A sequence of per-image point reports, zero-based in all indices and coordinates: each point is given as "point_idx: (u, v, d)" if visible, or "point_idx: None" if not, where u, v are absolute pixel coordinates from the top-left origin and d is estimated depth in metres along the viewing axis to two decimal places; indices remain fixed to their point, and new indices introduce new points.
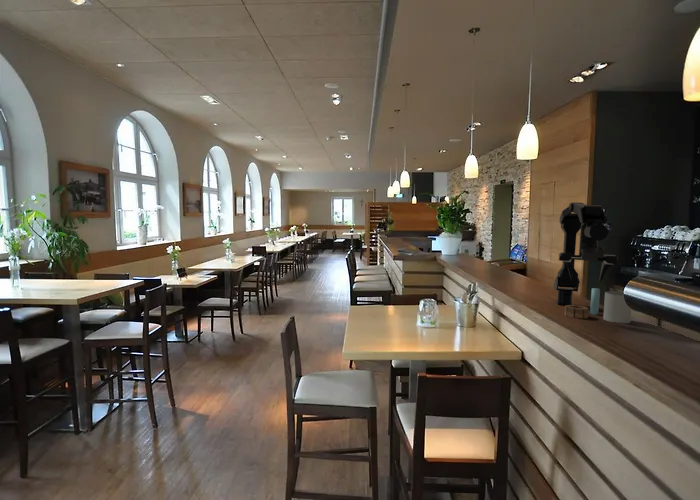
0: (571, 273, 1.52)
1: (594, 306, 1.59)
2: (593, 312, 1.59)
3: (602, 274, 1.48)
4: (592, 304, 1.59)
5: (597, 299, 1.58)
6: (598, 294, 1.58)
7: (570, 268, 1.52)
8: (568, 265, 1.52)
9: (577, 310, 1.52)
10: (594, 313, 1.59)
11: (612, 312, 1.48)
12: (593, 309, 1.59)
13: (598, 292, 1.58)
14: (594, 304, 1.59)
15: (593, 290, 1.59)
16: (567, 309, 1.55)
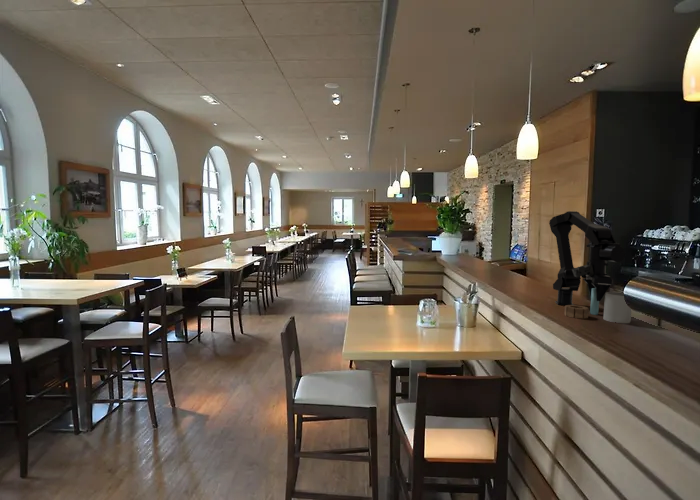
0: (589, 290, 1.64)
1: (594, 306, 1.59)
2: (593, 312, 1.59)
3: (596, 293, 1.55)
4: (592, 304, 1.59)
5: None
6: None
7: (588, 285, 1.65)
8: (586, 282, 1.66)
9: (577, 310, 1.52)
10: (594, 313, 1.59)
11: (612, 312, 1.48)
12: (593, 309, 1.59)
13: None
14: (594, 304, 1.59)
15: (593, 290, 1.59)
16: (567, 309, 1.55)
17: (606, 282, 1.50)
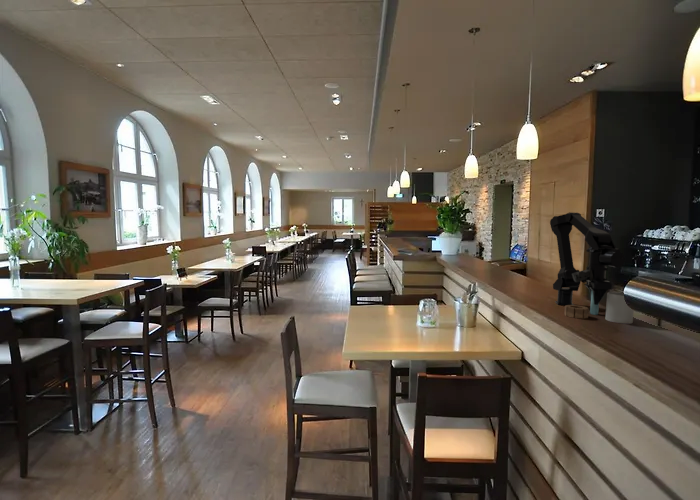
0: None
1: (594, 306, 1.59)
2: (593, 312, 1.59)
3: (593, 296, 1.58)
4: (592, 304, 1.59)
5: None
6: None
7: None
8: (588, 288, 1.63)
9: (577, 310, 1.52)
10: (594, 313, 1.59)
11: (613, 312, 1.48)
12: (593, 309, 1.59)
13: None
14: (594, 304, 1.59)
15: None
16: (567, 309, 1.55)
17: (606, 287, 1.50)
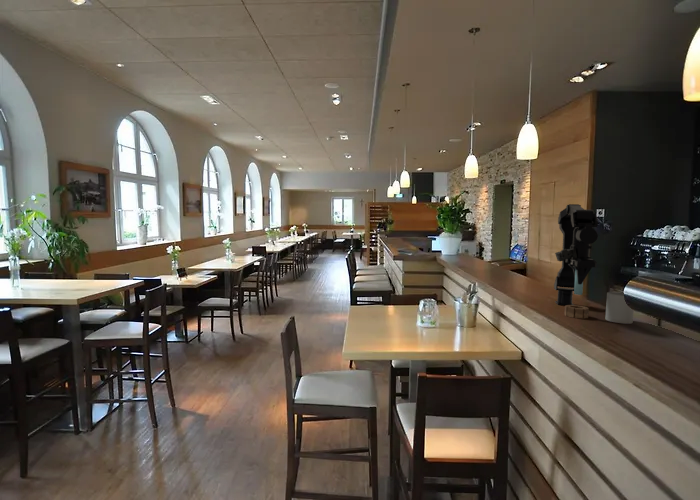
0: None
1: (578, 286, 1.54)
2: (577, 292, 1.54)
3: (577, 276, 1.53)
4: (576, 284, 1.54)
5: None
6: None
7: (573, 271, 1.57)
8: (572, 267, 1.58)
9: (577, 310, 1.52)
10: (578, 293, 1.54)
11: (613, 312, 1.48)
12: (576, 289, 1.54)
13: None
14: (578, 284, 1.54)
15: None
16: (567, 309, 1.55)
17: (589, 265, 1.45)
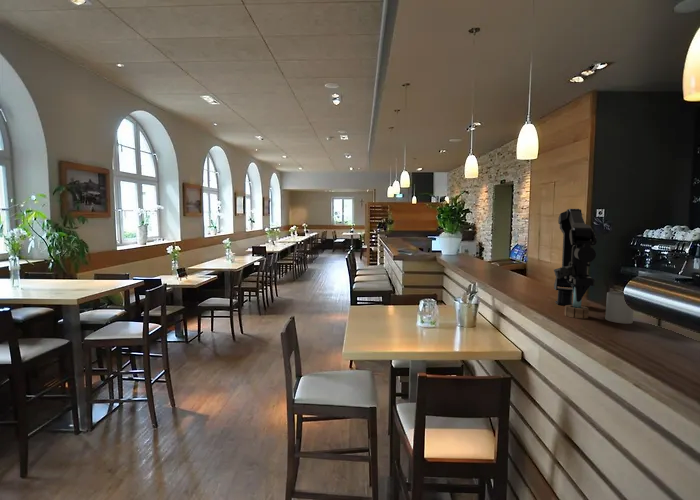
0: None
1: (576, 303, 1.54)
2: None
3: None
4: (574, 301, 1.55)
5: None
6: None
7: (572, 287, 1.58)
8: (570, 284, 1.58)
9: (577, 310, 1.52)
10: None
11: (613, 312, 1.48)
12: (575, 306, 1.55)
13: None
14: (576, 301, 1.54)
15: None
16: (567, 309, 1.55)
17: (587, 283, 1.46)
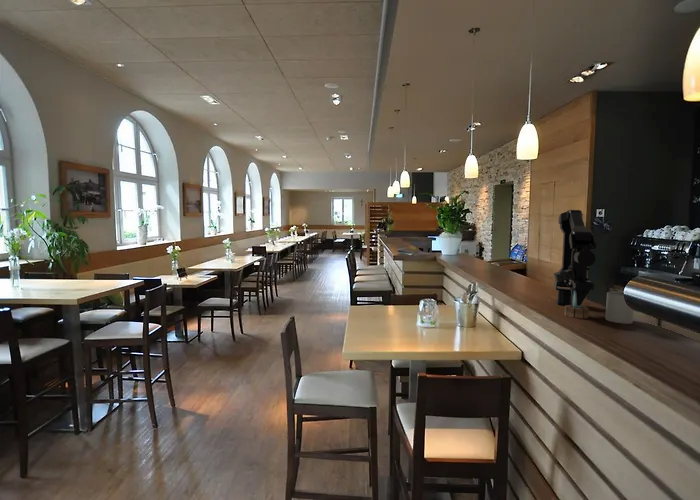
0: None
1: None
2: None
3: (576, 297, 1.53)
4: (574, 306, 1.55)
5: None
6: None
7: (571, 291, 1.58)
8: (570, 288, 1.59)
9: (577, 310, 1.52)
10: None
11: (613, 312, 1.48)
12: None
13: None
14: (576, 306, 1.54)
15: None
16: (567, 309, 1.55)
17: (587, 287, 1.46)
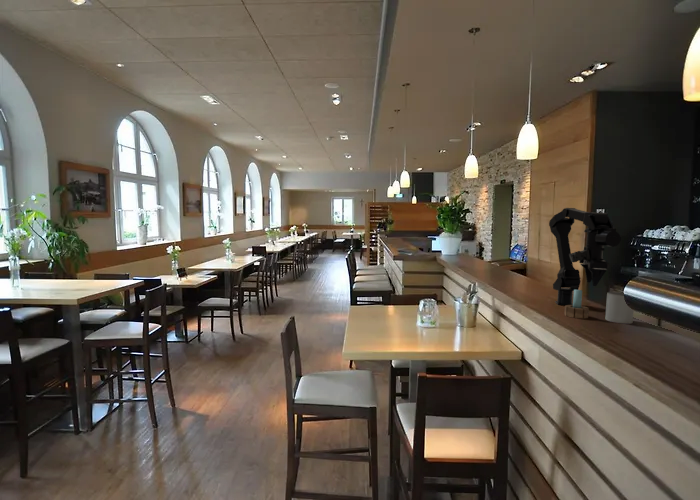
0: (586, 275, 1.65)
1: None
2: None
3: (592, 278, 1.56)
4: (574, 306, 1.55)
5: (579, 301, 1.54)
6: (580, 296, 1.54)
7: (585, 270, 1.65)
8: None
9: (577, 310, 1.52)
10: None
11: (613, 312, 1.48)
12: None
13: (580, 294, 1.54)
14: (576, 306, 1.54)
15: (575, 291, 1.54)
16: (567, 309, 1.55)
17: (602, 267, 1.50)
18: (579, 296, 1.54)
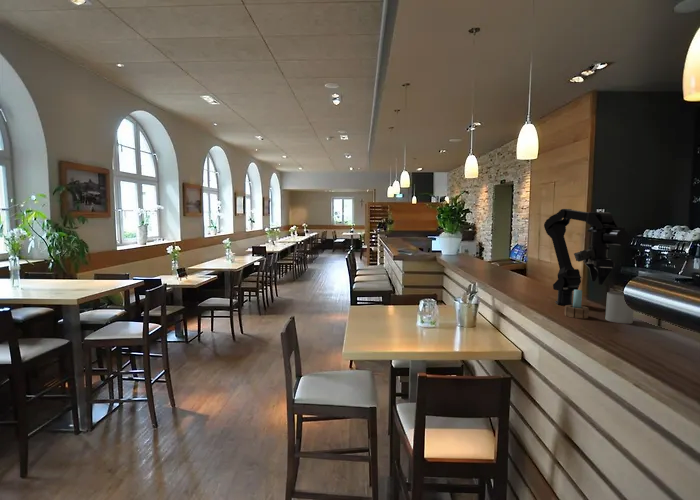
0: (591, 275, 1.67)
1: None
2: None
3: (598, 276, 1.57)
4: (574, 306, 1.55)
5: (579, 301, 1.54)
6: (580, 296, 1.54)
7: (589, 270, 1.67)
8: (588, 267, 1.68)
9: (577, 310, 1.52)
10: None
11: (613, 312, 1.48)
12: None
13: (580, 294, 1.54)
14: (576, 306, 1.54)
15: (575, 291, 1.54)
16: (567, 309, 1.55)
17: (608, 265, 1.52)
18: (579, 296, 1.54)
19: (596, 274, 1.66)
